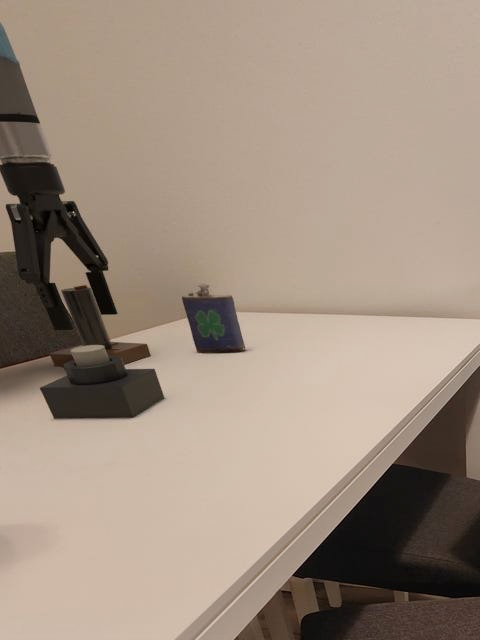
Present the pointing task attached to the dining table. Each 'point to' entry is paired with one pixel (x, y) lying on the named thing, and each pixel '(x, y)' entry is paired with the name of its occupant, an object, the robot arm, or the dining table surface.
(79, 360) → the white short cylinder
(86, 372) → the button base
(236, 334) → the flask
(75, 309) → the black tall block
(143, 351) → the brown wooden flat block
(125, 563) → the dining table surface
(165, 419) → the dining table surface
